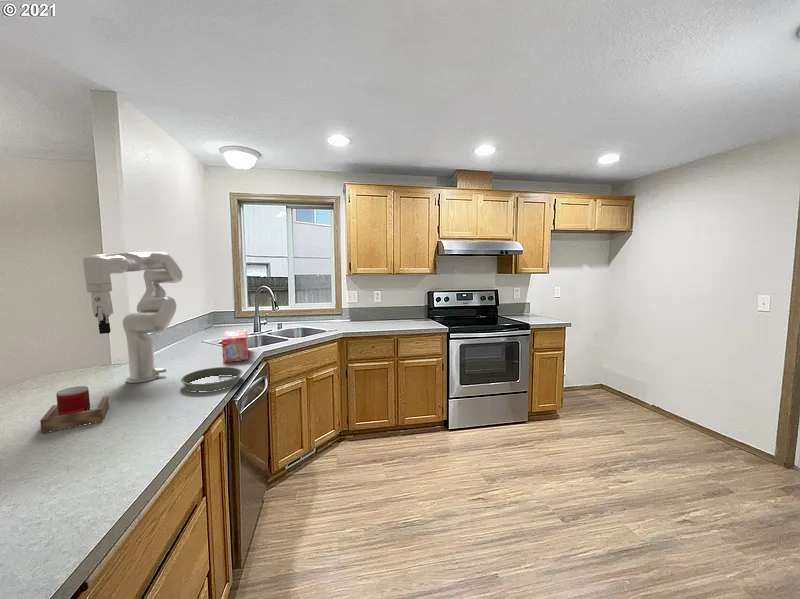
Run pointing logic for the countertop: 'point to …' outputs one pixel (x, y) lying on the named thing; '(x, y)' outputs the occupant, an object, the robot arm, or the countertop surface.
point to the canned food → (73, 400)
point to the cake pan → (208, 373)
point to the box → (235, 346)
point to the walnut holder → (73, 417)
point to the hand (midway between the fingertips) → (105, 332)
